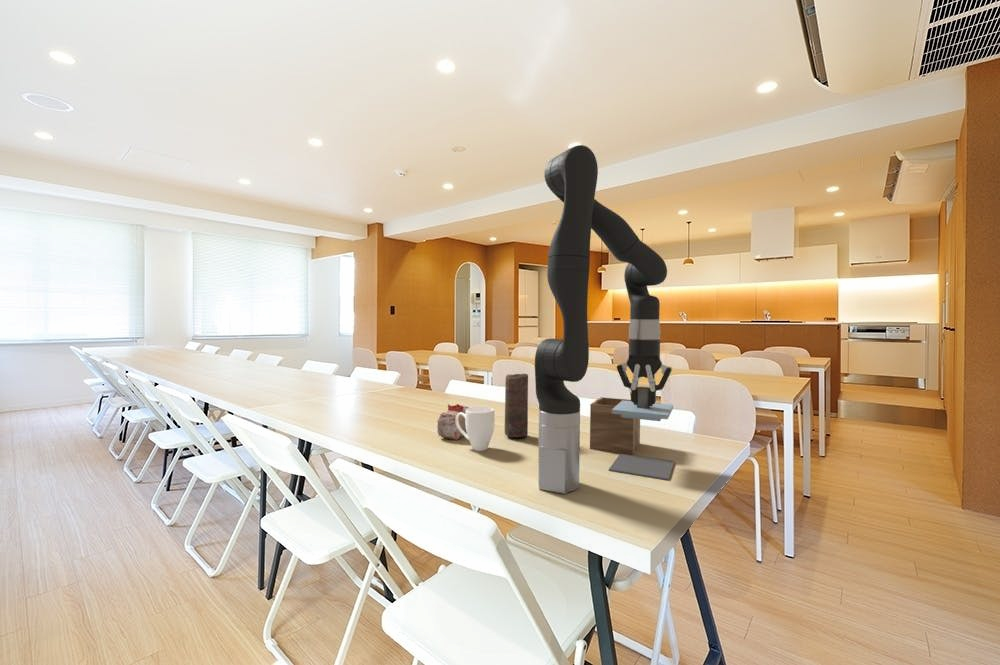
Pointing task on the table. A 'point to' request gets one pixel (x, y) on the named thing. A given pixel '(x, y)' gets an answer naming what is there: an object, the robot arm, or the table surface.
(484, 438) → the mug
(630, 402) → the lid
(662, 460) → the mat
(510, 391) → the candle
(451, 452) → the table surface
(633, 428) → the box
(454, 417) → the grey speckled jug shape
